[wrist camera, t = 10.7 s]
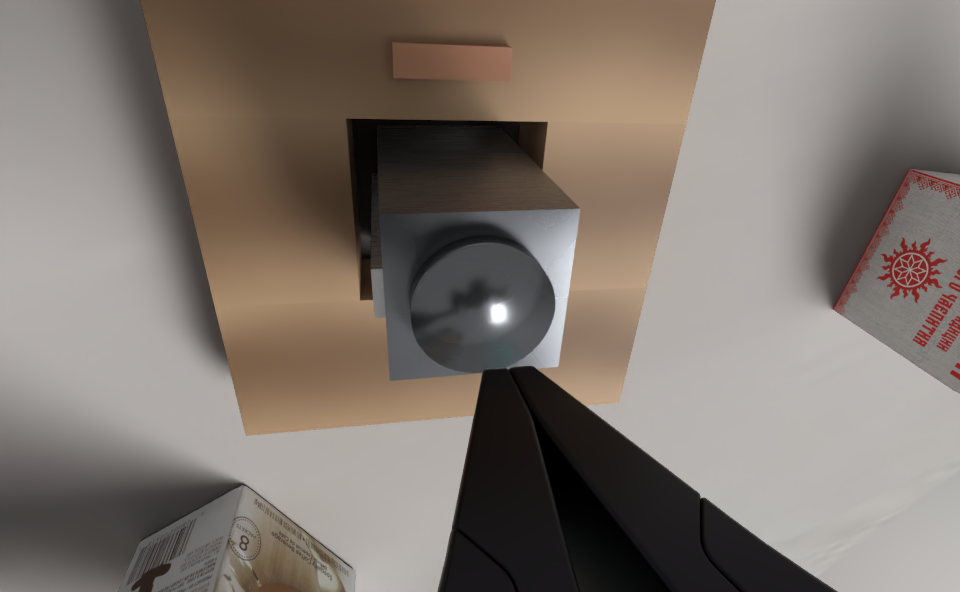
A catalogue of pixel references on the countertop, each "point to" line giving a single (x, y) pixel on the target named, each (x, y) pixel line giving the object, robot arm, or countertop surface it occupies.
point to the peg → (467, 252)
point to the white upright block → (914, 276)
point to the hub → (411, 96)
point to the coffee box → (235, 553)
